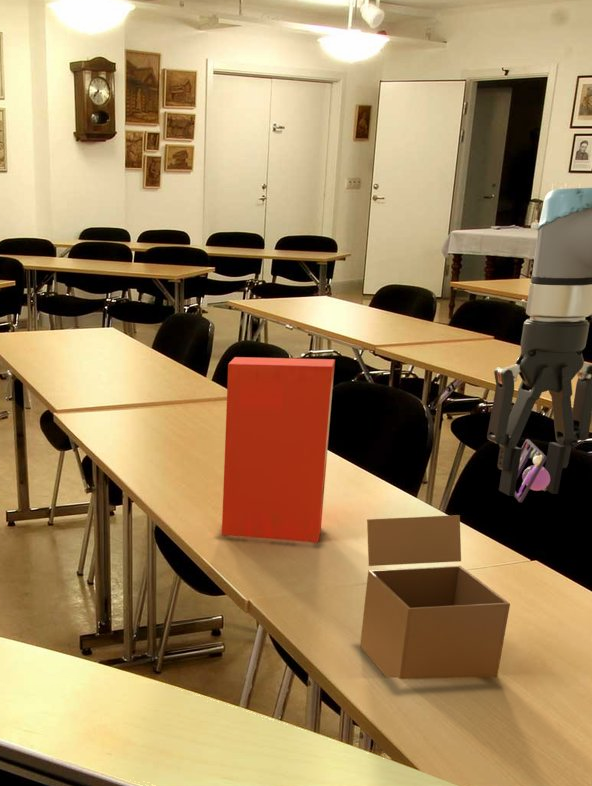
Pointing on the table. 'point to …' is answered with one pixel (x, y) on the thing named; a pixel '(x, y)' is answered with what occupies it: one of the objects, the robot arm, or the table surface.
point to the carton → (432, 623)
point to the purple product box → (532, 470)
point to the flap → (414, 540)
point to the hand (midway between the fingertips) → (528, 491)
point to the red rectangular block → (276, 447)
